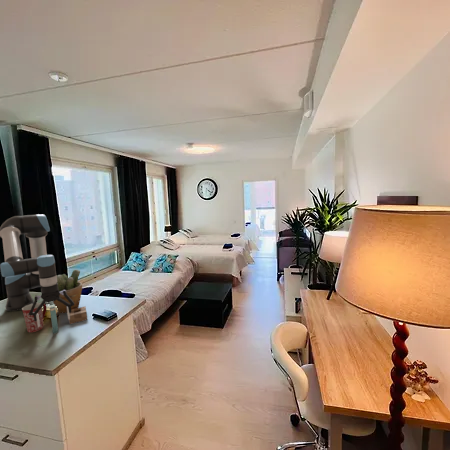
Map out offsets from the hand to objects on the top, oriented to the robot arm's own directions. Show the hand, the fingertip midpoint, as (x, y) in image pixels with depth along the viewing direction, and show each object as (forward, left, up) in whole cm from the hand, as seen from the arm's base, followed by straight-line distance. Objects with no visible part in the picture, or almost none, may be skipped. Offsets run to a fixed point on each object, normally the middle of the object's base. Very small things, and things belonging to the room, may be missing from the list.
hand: (54, 322), depth 138 cm
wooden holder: (-10, +11, -6) cm, 16 cm away
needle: (0, 0, -6) cm, 6 cm away
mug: (-12, -9, -6) cm, 16 cm away
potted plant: (-29, +6, -6) cm, 30 cm away
